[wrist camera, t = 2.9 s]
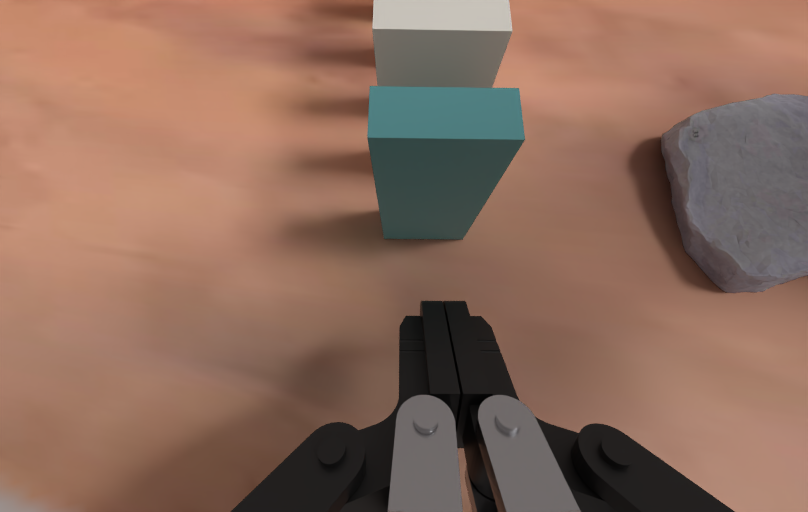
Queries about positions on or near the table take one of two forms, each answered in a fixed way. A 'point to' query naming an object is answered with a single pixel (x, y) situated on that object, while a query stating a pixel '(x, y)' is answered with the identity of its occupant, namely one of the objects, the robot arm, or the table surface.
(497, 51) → the domino
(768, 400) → the table surface
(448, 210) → the domino
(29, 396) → the table surface
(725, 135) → the stone block
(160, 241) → the table surface
